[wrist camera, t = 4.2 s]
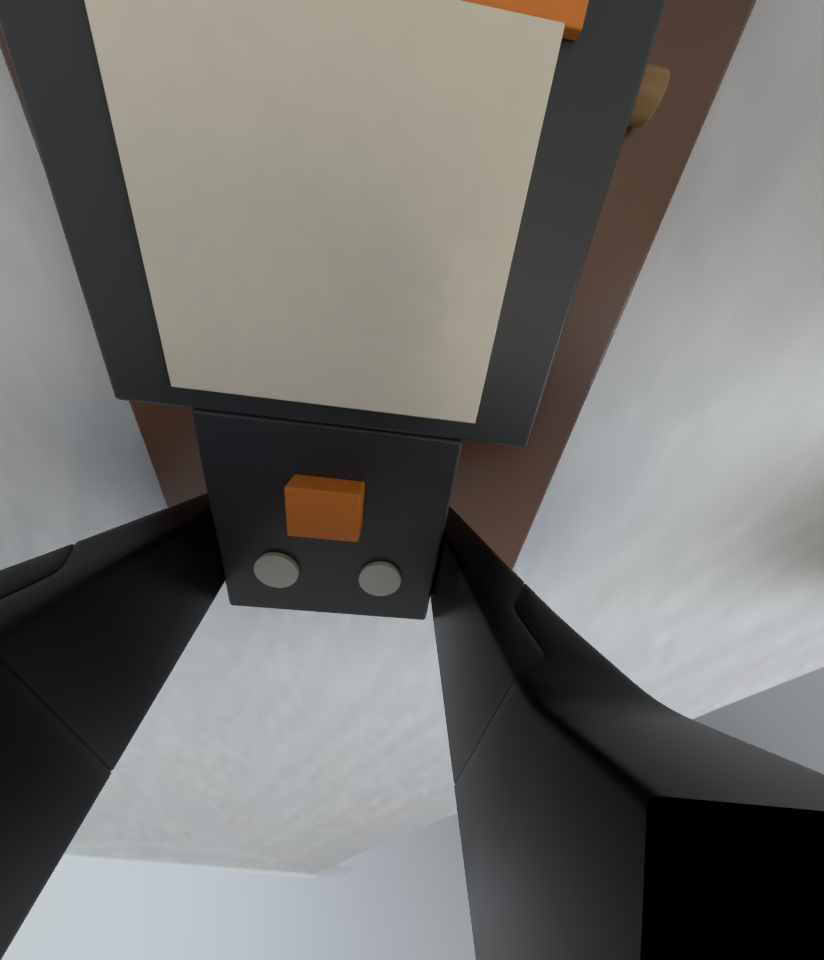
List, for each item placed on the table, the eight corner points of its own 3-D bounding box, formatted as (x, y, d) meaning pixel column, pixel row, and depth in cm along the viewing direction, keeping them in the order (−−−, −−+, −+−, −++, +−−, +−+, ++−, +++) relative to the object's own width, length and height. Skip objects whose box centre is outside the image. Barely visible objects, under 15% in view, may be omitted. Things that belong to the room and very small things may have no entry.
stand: (-133, -510, 4) (-470, -1009, 2) (816, -230, 5) (1000, -469, 3) (195, 524, 12) (167, 554, 11) (506, 553, 13) (517, 584, 12)
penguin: (132, -7, 5) (-244, -466, 2) (577, 83, 5) (762, -187, 3) (230, 539, 10) (159, 623, 7) (457, 560, 10) (476, 646, 7)
